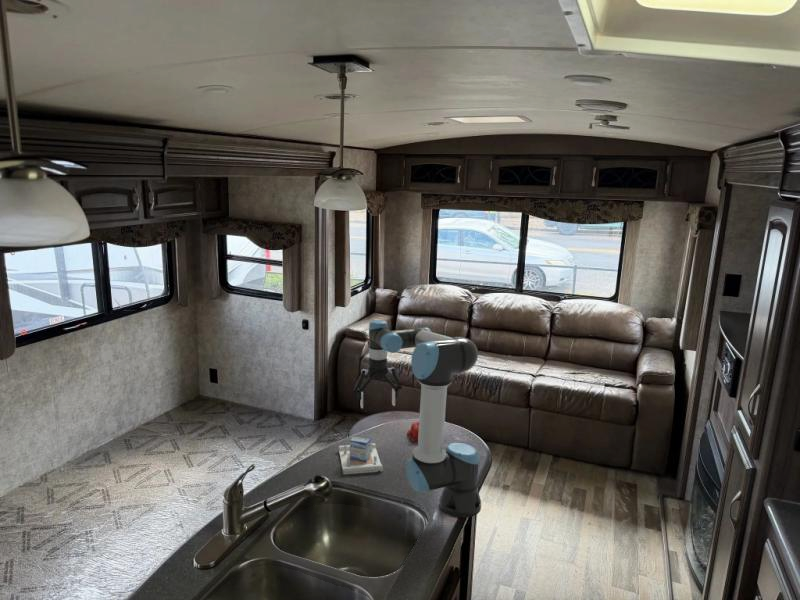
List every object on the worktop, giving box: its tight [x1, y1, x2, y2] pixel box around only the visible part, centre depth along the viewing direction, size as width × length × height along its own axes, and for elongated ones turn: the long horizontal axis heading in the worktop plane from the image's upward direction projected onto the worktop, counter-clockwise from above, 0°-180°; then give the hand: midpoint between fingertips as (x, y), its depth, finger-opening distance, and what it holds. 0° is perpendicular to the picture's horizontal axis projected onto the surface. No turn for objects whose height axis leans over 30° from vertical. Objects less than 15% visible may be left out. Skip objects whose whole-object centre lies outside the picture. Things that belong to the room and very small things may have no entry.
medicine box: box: [349, 436, 371, 462], centre depth 232 cm, size 8×4×9 cm, turn 73°
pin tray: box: [338, 442, 384, 475], centre depth 233 cm, size 20×16×4 cm
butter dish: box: [407, 421, 419, 442], centre depth 256 cm, size 12×12×8 cm
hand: (377, 406), depth 232 cm, fingers open, 13 cm apart
